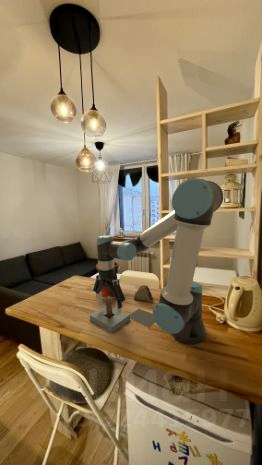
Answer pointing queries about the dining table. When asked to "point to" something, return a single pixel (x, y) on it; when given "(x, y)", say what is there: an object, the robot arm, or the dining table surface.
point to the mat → (143, 317)
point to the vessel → (106, 291)
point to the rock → (143, 293)
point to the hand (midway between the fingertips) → (109, 309)
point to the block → (109, 319)
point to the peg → (109, 307)
